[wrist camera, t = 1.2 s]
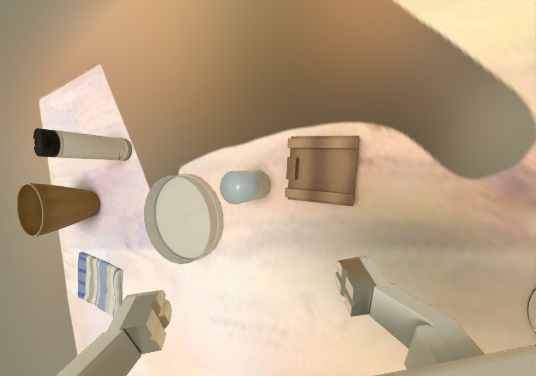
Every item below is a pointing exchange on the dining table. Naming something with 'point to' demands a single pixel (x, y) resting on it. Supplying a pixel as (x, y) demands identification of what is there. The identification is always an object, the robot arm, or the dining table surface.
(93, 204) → the plant pot
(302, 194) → the chest
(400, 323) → the robot arm
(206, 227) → the dish
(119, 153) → the travel mug
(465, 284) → the dining table surface
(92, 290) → the dish towel
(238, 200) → the grey domed cylinder
